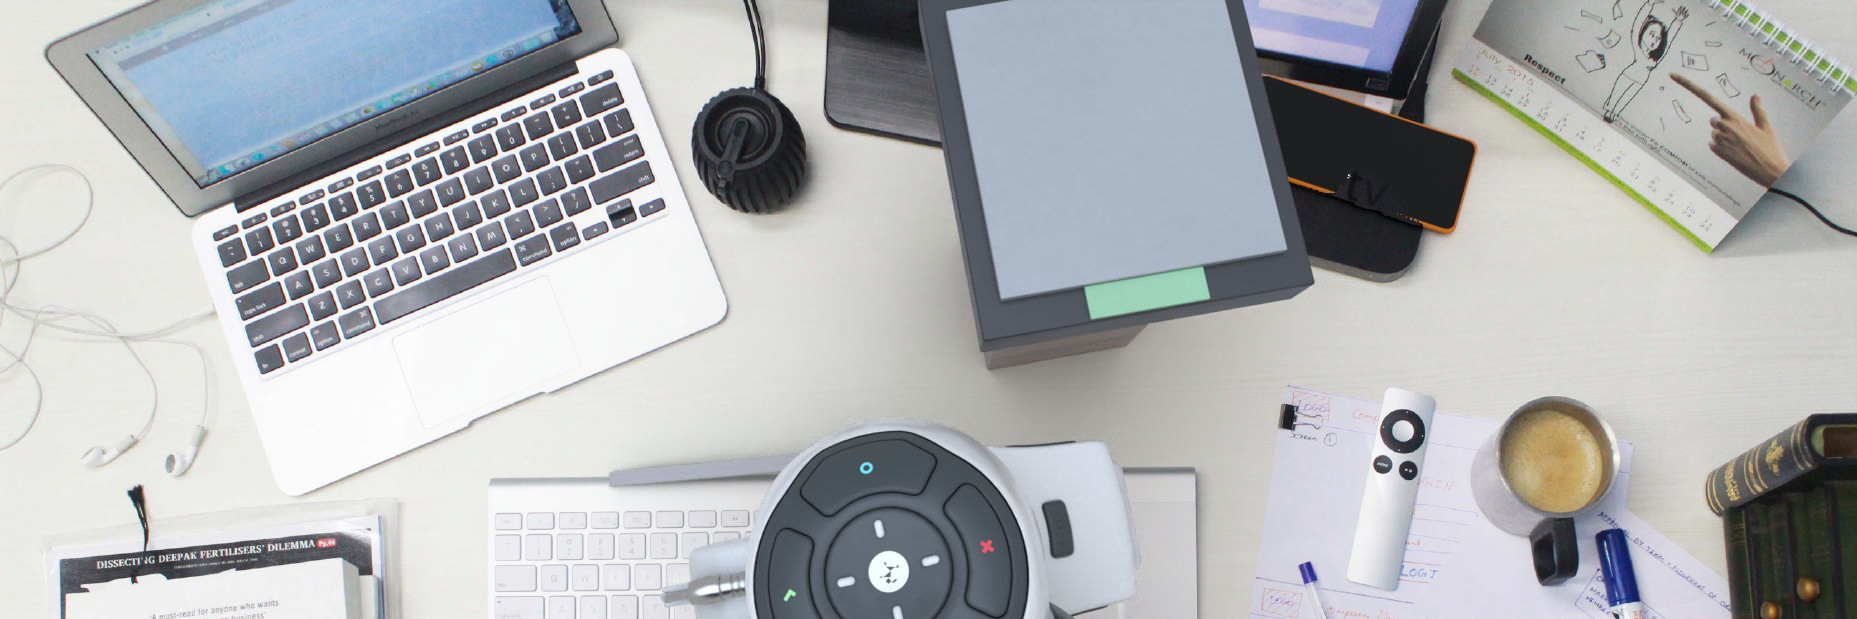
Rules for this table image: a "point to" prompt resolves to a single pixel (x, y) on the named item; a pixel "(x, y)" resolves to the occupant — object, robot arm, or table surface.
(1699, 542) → the table surface
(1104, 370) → the table surface
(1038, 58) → the scale
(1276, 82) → the smartphone
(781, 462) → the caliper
